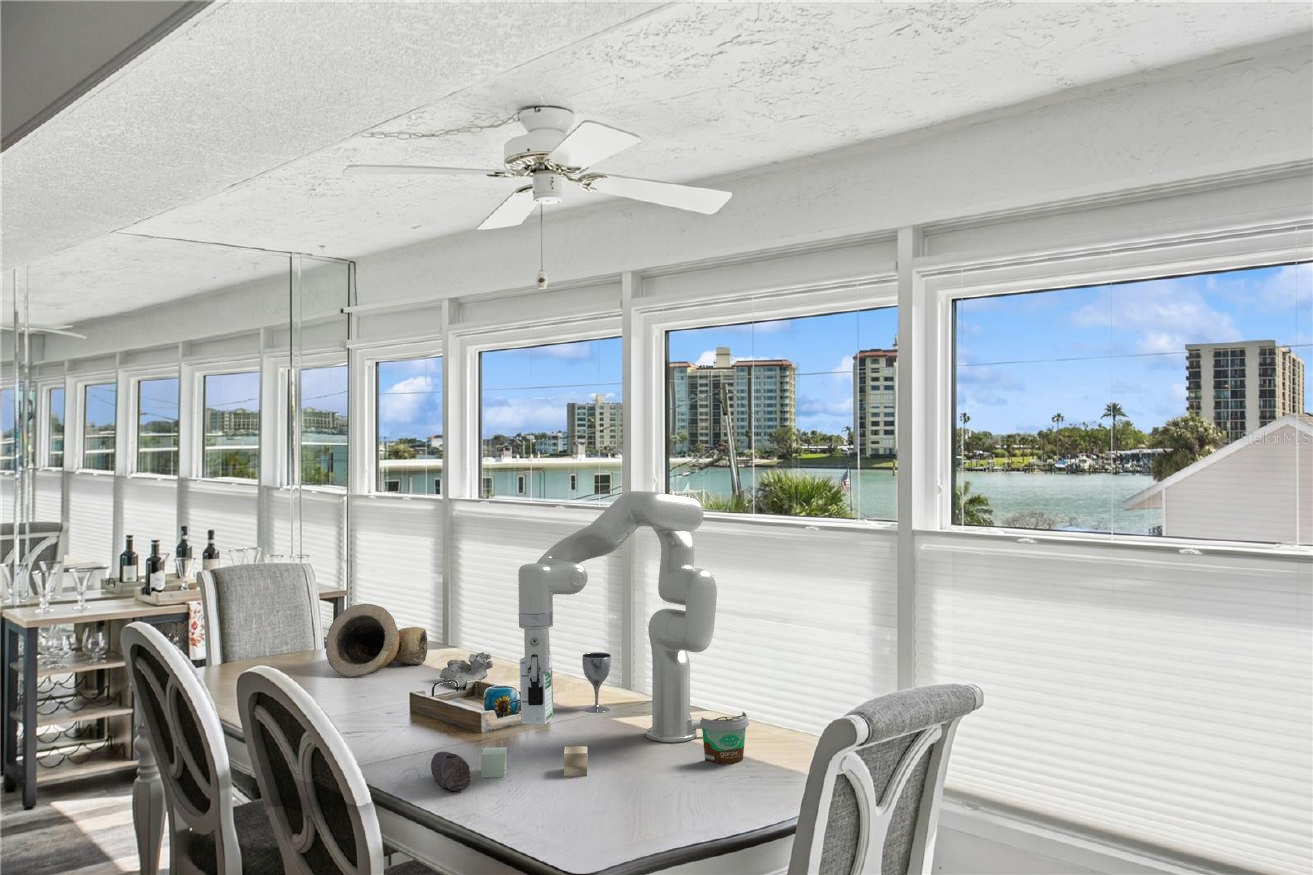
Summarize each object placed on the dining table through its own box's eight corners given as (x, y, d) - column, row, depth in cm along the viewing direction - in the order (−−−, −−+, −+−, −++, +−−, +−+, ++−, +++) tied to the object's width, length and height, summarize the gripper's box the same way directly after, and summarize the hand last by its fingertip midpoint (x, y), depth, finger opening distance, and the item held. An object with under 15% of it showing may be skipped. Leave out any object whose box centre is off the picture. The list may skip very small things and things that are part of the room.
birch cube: (587, 768, 216) (587, 746, 216) (586, 776, 211) (586, 753, 211) (565, 769, 216) (565, 746, 216) (564, 776, 211) (564, 753, 211)
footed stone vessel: (427, 686, 333) (413, 674, 305) (341, 687, 331) (319, 676, 303) (431, 619, 342) (418, 601, 314) (348, 620, 340) (327, 602, 312)
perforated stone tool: (423, 777, 210) (423, 745, 210) (446, 773, 213) (446, 741, 213) (448, 798, 198) (448, 763, 198) (473, 793, 200) (473, 759, 201)
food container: (713, 769, 216) (713, 724, 216) (699, 761, 221) (699, 717, 222) (759, 761, 222) (759, 717, 222) (744, 754, 227) (744, 711, 227)
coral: (498, 685, 297) (498, 652, 297) (459, 692, 288) (459, 658, 288) (469, 676, 310) (470, 644, 310) (431, 682, 301) (432, 650, 301)
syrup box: (545, 725, 210) (545, 658, 211) (520, 724, 212) (519, 658, 212) (553, 718, 216) (552, 653, 216) (528, 717, 217) (527, 652, 217)
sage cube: (506, 770, 215) (506, 747, 215) (504, 777, 210) (504, 754, 210) (484, 770, 215) (484, 748, 215) (481, 777, 210) (481, 754, 210)
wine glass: (577, 711, 266) (577, 656, 266) (590, 704, 273) (590, 651, 273) (603, 714, 263) (603, 658, 263) (615, 707, 270) (615, 653, 270)
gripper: (550, 626, 206) (551, 710, 205) (555, 612, 223) (555, 690, 223) (515, 627, 205) (516, 711, 205) (522, 613, 223) (523, 691, 222)
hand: (536, 699), depth 214 cm, fingers closed on syrup box, 6 cm apart
